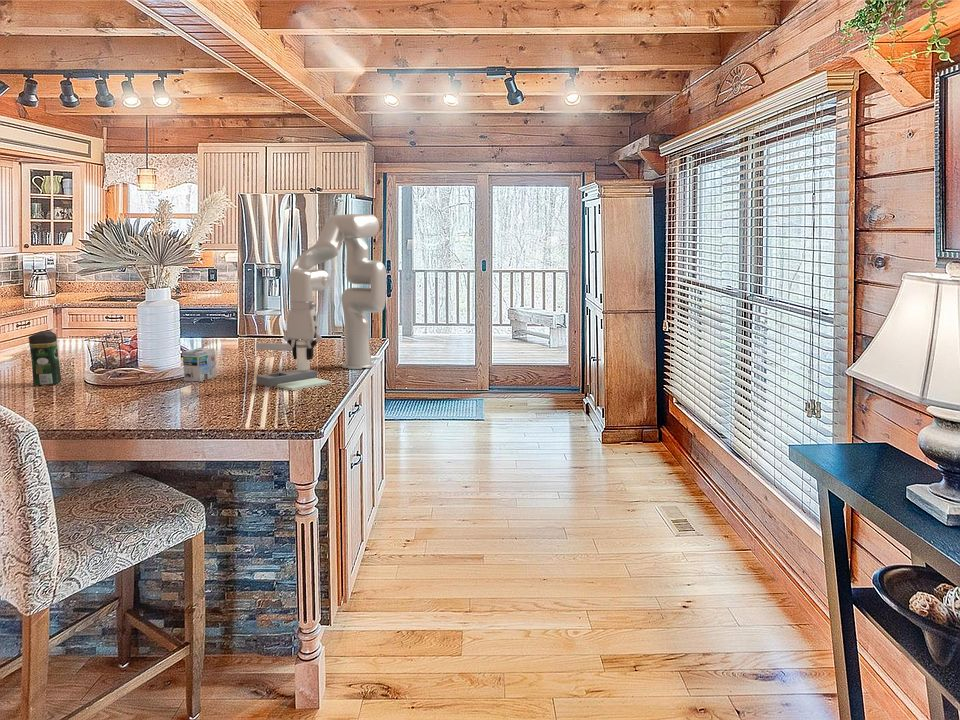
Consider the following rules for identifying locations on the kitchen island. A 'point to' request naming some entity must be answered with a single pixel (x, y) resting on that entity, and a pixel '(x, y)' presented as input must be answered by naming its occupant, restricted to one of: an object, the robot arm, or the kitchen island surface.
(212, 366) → the light bulb box
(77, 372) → the kitchen island surface
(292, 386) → the mat
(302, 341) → the plug
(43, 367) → the coffee jar
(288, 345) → the silver metal bar
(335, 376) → the kitchen island surface
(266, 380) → the gray base with post
